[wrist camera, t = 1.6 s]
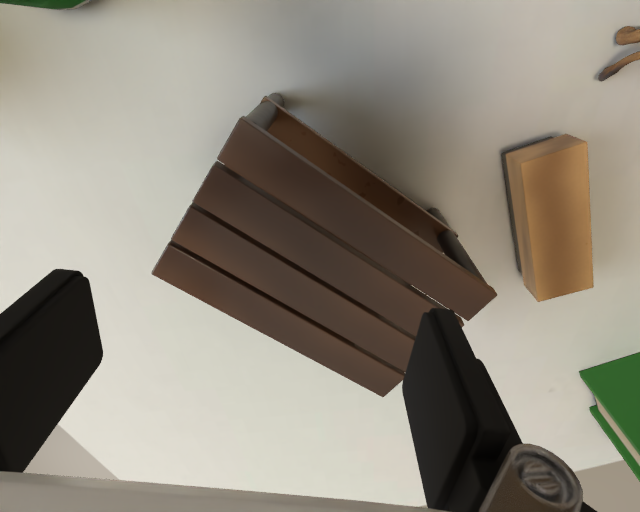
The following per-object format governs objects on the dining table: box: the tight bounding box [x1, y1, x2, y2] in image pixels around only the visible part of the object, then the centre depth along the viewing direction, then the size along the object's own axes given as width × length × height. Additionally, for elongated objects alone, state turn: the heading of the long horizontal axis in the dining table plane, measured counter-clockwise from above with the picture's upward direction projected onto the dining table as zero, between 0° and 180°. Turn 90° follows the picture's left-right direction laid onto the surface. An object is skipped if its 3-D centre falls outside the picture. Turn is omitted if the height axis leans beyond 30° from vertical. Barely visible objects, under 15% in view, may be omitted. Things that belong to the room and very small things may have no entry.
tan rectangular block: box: [502, 134, 593, 302], centre depth 33 cm, size 5×13×5 cm, turn 20°
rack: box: [152, 93, 497, 397], centre depth 29 cm, size 11×18×13 cm, turn 55°
